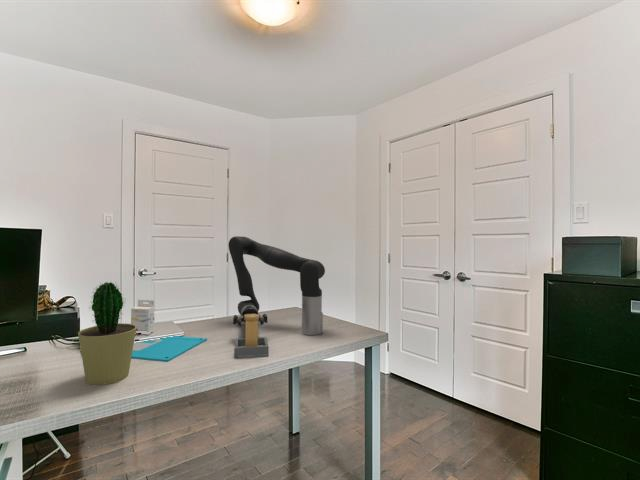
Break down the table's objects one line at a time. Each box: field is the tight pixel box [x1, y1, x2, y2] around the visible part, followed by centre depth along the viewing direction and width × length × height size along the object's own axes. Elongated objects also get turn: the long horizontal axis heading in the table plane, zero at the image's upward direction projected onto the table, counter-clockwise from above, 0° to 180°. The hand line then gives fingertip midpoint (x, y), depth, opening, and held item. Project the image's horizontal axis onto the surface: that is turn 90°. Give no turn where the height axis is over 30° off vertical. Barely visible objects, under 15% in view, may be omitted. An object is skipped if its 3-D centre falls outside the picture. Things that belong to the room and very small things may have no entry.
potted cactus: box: [77, 281, 137, 386], centre depth 104 cm, size 15×15×30 cm
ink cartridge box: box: [130, 299, 156, 332], centre depth 152 cm, size 9×5×15 cm, turn 84°
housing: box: [234, 336, 270, 359], centre depth 129 cm, size 12×12×4 cm
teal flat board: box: [131, 335, 208, 362], centre depth 134 cm, size 26×28×1 cm
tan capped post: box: [244, 313, 260, 347], centre depth 129 cm, size 5×5×13 cm
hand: (251, 323), depth 138 cm, fingers open, 8 cm apart
